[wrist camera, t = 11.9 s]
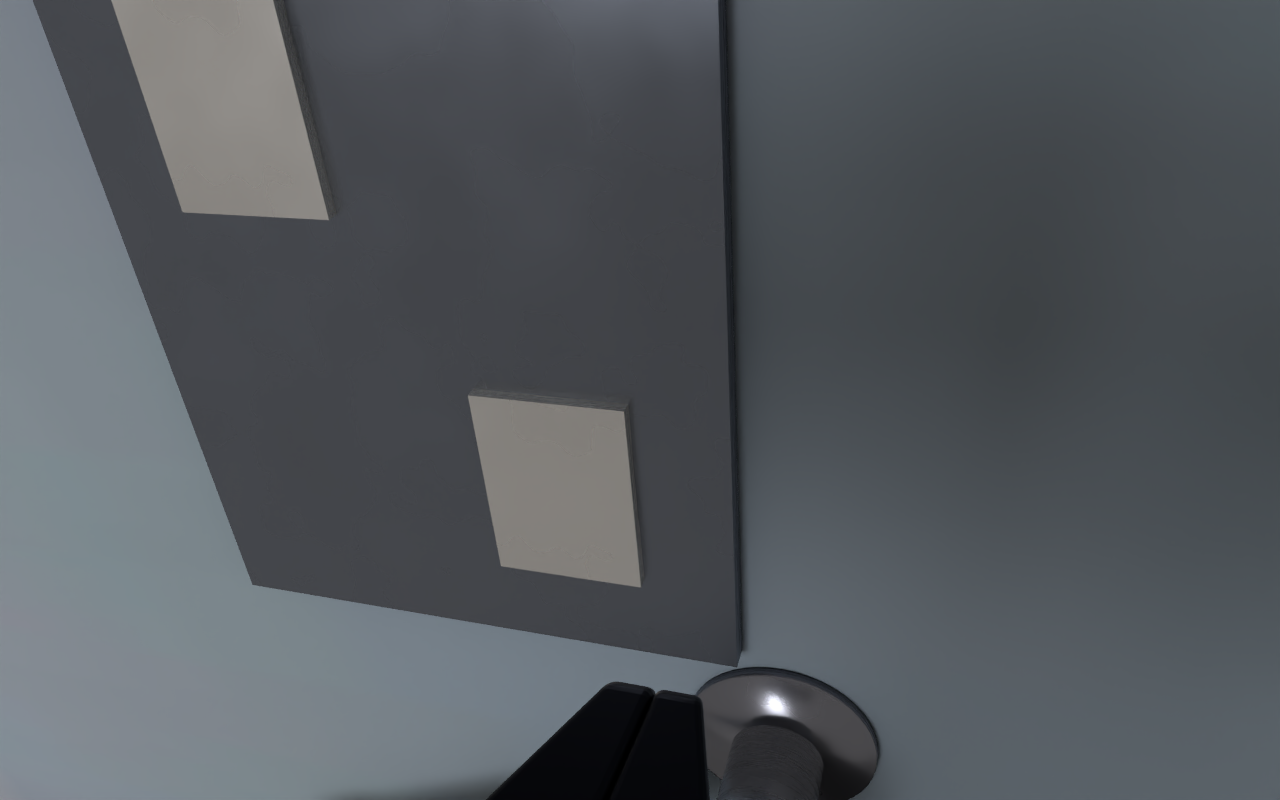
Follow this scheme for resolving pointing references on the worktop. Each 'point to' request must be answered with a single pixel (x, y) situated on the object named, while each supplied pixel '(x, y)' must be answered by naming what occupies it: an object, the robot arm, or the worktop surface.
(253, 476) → the board
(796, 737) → the swing arm
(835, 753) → the base
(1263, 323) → the worktop surface
